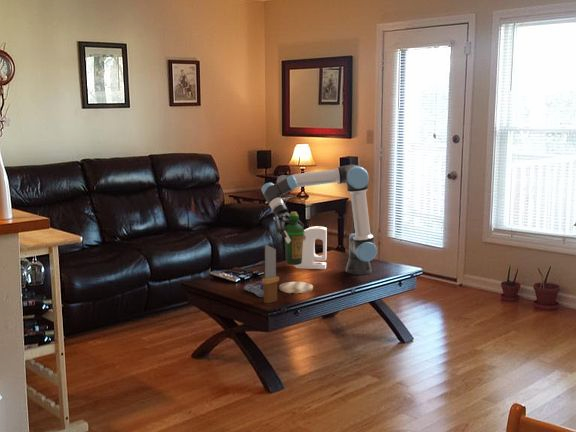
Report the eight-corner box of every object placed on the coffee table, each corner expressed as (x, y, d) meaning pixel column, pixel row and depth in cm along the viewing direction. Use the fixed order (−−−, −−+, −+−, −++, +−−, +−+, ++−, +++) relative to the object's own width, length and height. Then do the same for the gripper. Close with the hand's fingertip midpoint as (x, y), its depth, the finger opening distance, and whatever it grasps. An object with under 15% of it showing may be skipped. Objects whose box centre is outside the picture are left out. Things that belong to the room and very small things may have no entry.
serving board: (312, 284, 364) (312, 281, 364) (313, 293, 347) (313, 290, 346) (279, 284, 364) (279, 281, 364) (279, 293, 346) (279, 290, 346)
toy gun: (282, 294, 346) (257, 299, 338) (264, 286, 361) (240, 290, 354) (282, 287, 345) (257, 292, 337) (264, 279, 361) (240, 283, 353)
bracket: (325, 269, 397) (326, 228, 393) (291, 267, 400) (291, 227, 396) (326, 266, 404) (327, 226, 399) (292, 265, 406) (293, 225, 402)
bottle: (301, 266, 348) (301, 214, 343) (281, 265, 350) (281, 213, 345) (305, 261, 358) (305, 210, 353) (286, 260, 361) (286, 210, 356)
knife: (267, 304, 329) (267, 245, 324) (261, 302, 331) (261, 244, 326) (278, 300, 335) (279, 242, 330) (273, 298, 337) (273, 241, 332)
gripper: (291, 209, 369) (310, 241, 360) (259, 214, 354) (277, 247, 345) (298, 201, 364) (316, 233, 355) (265, 205, 349) (283, 239, 340)
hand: (297, 240), depth 350 cm, fingers closed on bottle, 10 cm apart
